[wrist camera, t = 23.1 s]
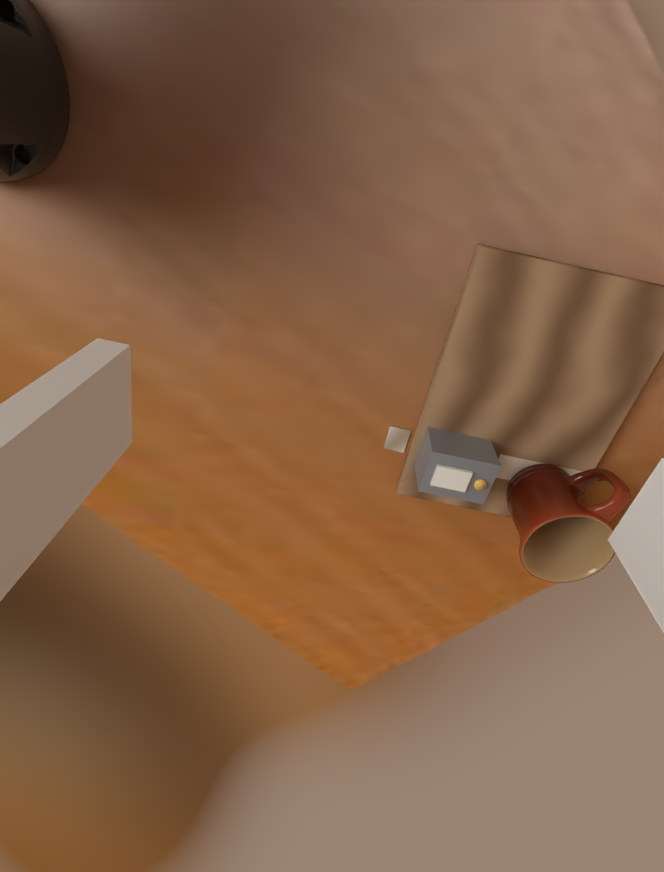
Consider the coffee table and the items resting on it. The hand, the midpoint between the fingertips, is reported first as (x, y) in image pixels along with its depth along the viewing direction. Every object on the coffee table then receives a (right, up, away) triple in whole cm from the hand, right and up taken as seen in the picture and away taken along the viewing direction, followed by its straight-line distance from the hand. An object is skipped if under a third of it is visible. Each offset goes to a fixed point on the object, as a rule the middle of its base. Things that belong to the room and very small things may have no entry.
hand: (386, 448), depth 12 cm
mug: (+23, -4, +42) cm, 48 cm away
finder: (+12, -1, +41) cm, 43 cm away
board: (+17, +4, +39) cm, 43 cm away
